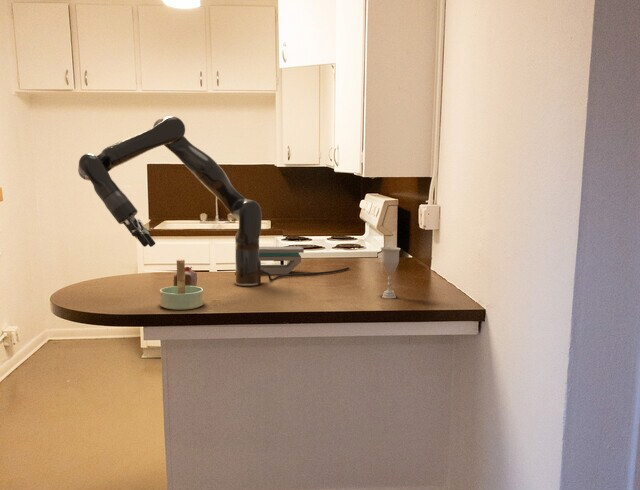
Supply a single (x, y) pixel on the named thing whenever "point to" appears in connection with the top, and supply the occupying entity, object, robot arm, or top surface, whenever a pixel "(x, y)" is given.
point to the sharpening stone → (280, 258)
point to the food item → (188, 277)
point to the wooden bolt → (180, 276)
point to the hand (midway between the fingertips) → (150, 245)
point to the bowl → (181, 298)
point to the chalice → (390, 266)
